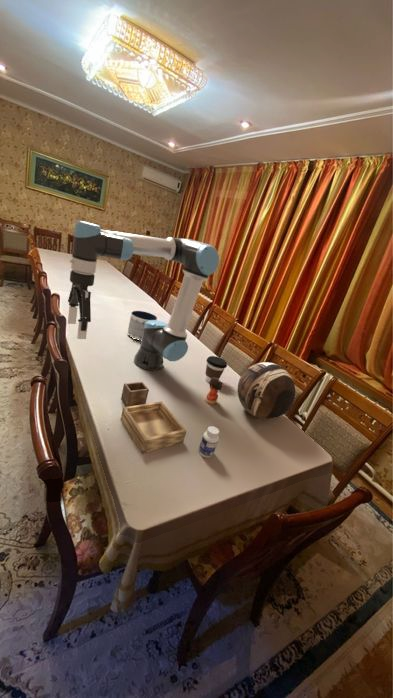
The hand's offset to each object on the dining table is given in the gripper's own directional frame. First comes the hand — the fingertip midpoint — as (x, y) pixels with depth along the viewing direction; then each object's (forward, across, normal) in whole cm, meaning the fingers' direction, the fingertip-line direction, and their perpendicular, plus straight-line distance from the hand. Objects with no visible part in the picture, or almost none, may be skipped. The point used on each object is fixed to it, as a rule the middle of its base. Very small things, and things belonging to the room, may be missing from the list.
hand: (76, 330), depth 104 cm
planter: (+26, -52, +53) cm, 79 cm away
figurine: (+26, +20, +56) cm, 65 cm away
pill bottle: (+25, +46, +34) cm, 63 cm away
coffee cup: (+26, +4, +69) cm, 74 cm away
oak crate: (+25, +31, +21) cm, 45 cm away
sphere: (+26, +34, +74) cm, 85 cm away
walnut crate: (+25, +13, +21) cm, 35 cm away
